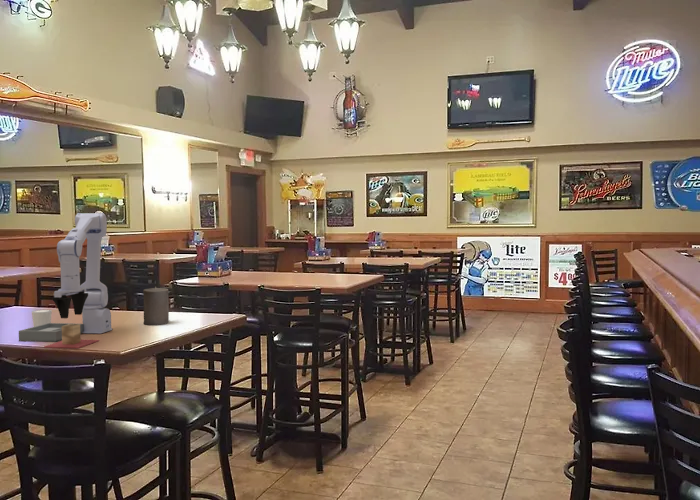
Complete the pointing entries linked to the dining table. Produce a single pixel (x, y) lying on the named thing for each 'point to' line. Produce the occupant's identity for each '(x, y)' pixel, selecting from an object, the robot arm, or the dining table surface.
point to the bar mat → (77, 345)
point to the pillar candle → (156, 306)
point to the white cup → (41, 317)
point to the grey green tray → (45, 332)
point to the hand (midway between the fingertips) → (71, 316)
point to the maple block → (71, 334)
